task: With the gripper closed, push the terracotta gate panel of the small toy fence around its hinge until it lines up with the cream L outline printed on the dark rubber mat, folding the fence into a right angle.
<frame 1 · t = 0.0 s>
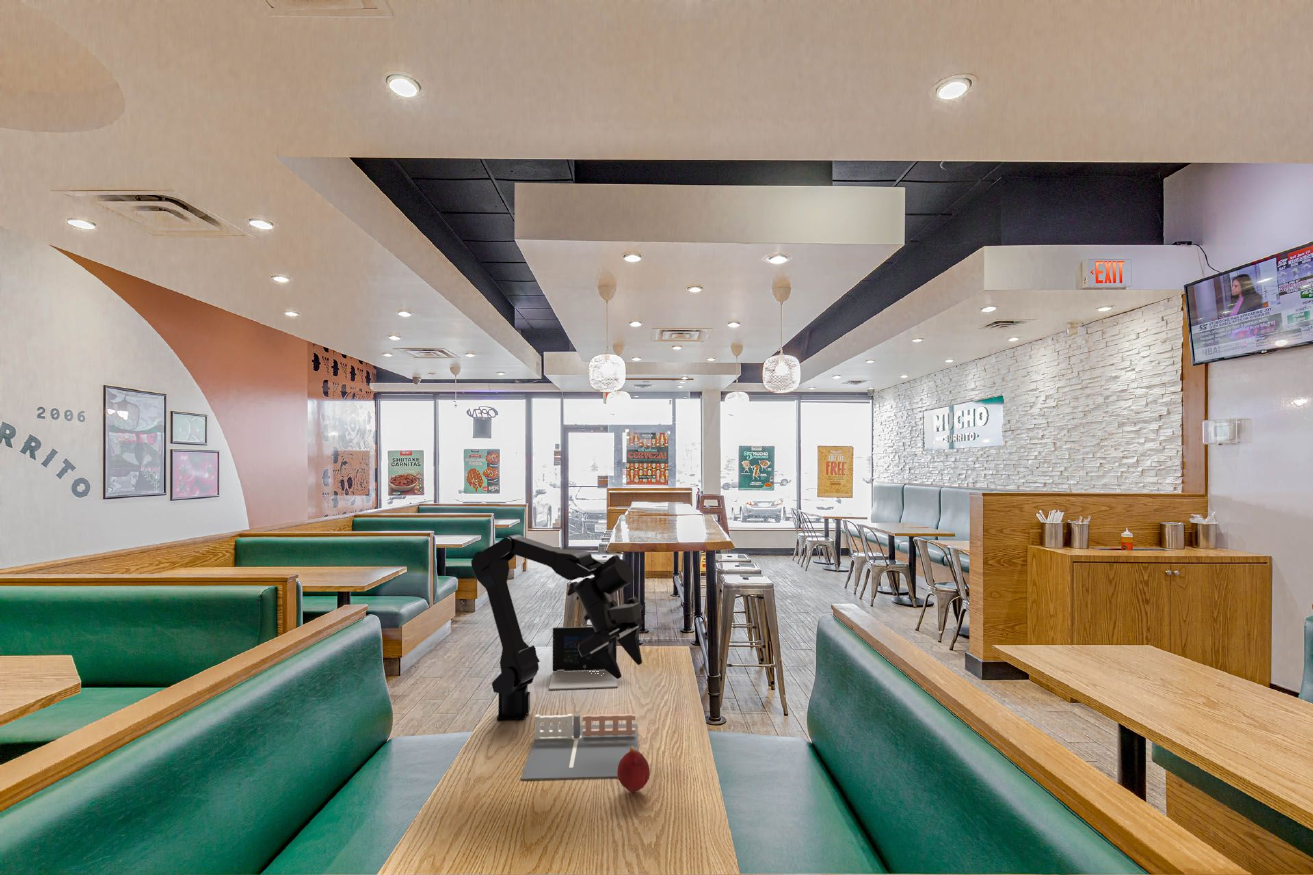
hand: (630, 670, 126), 15 cm above the table, tool tilted 35°, fingers open, 9 cm apart
laptop: (584, 682, 161), on the table
fence gate: (604, 725, 127), point 3 cm above the table, hinge at 0.0°
onion: (633, 793, 107), on the table
layout mat: (584, 749, 122), on the table
fence fixed: (554, 737, 127), resting on layout mat
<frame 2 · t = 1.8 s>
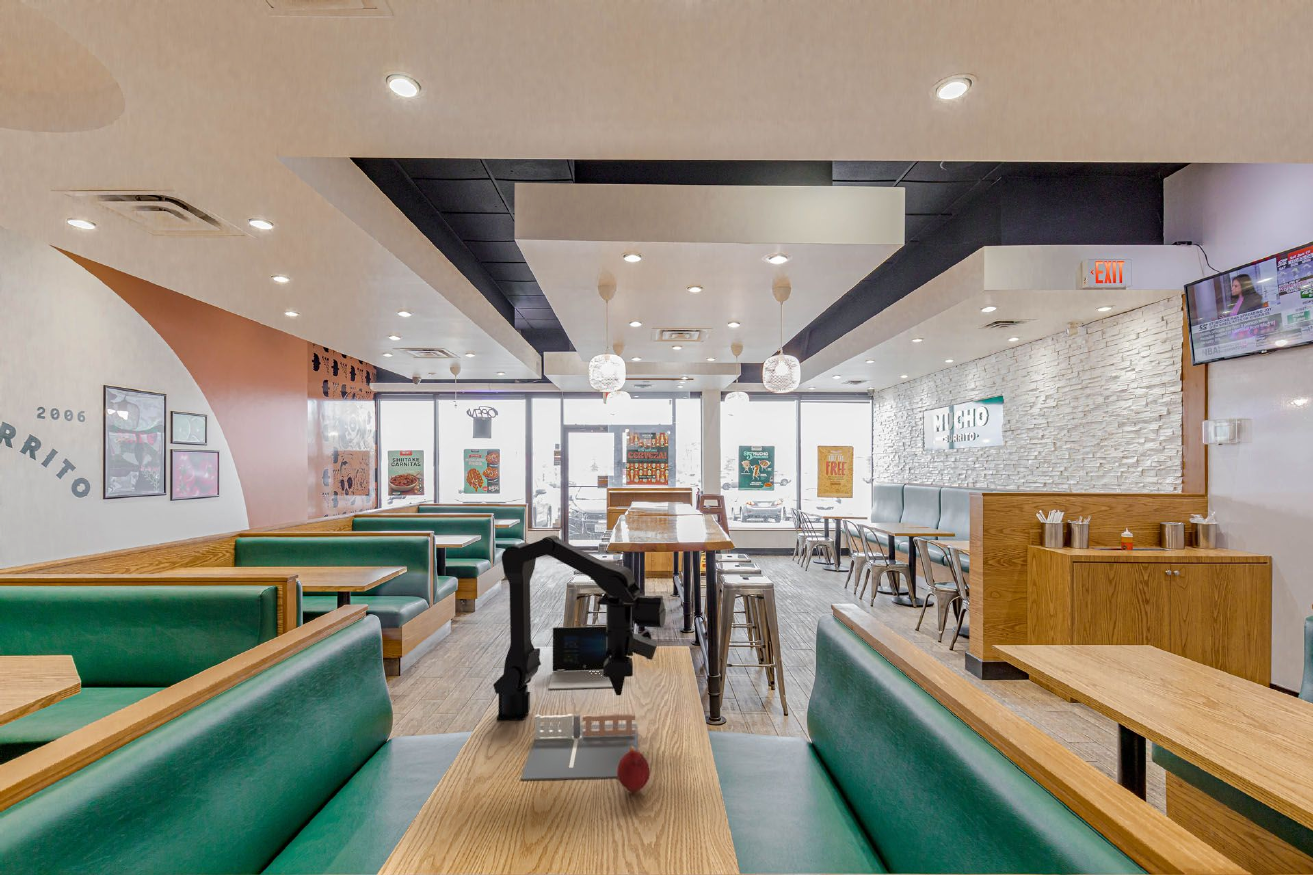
hand: (618, 694, 133), 7 cm above the table, tool pointing down, fingers closed
nothing on the table moved.
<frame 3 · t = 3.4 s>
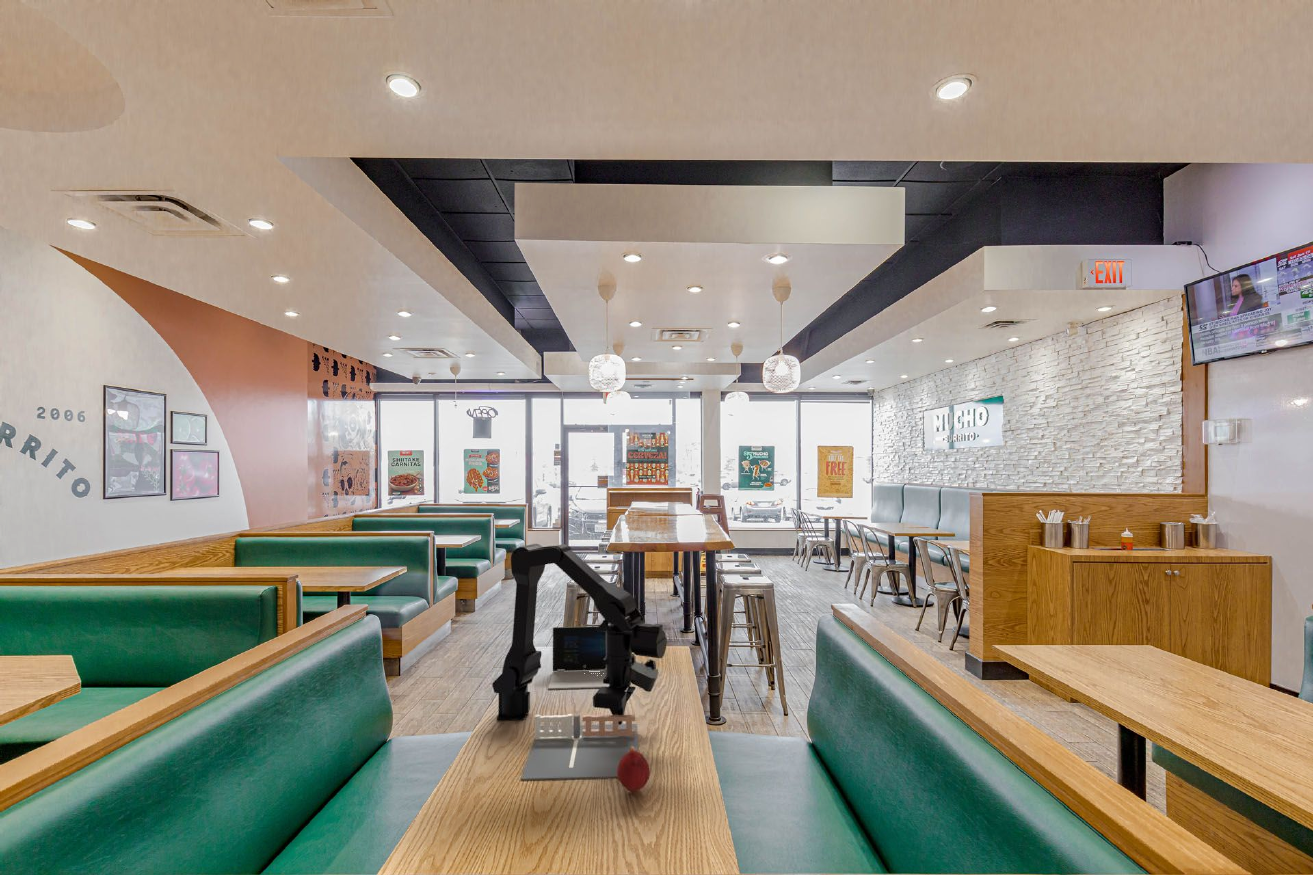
hand: (619, 724, 129), 2 cm above the table, tool pointing down, fingers closed
fence gate: (604, 725, 127), point 3 cm above the table, hinge at 2.3°, touching gripper
everything else where it was.
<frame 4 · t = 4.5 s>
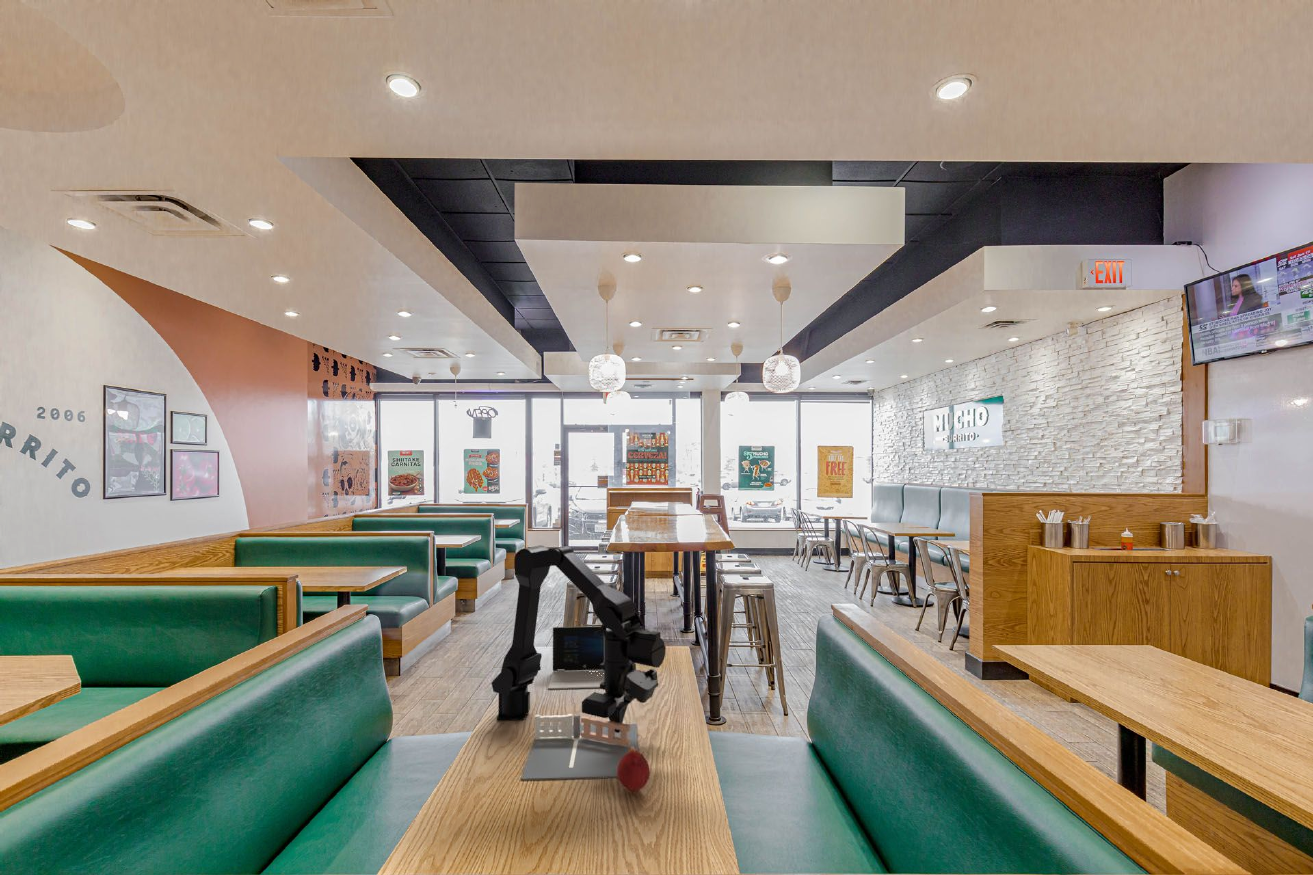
hand: (617, 731, 125), 2 cm above the table, tool pointing down, fingers closed
fence gate: (601, 730, 125), point 3 cm above the table, hinge at 25.3°, touching gripper
everything else where it was.
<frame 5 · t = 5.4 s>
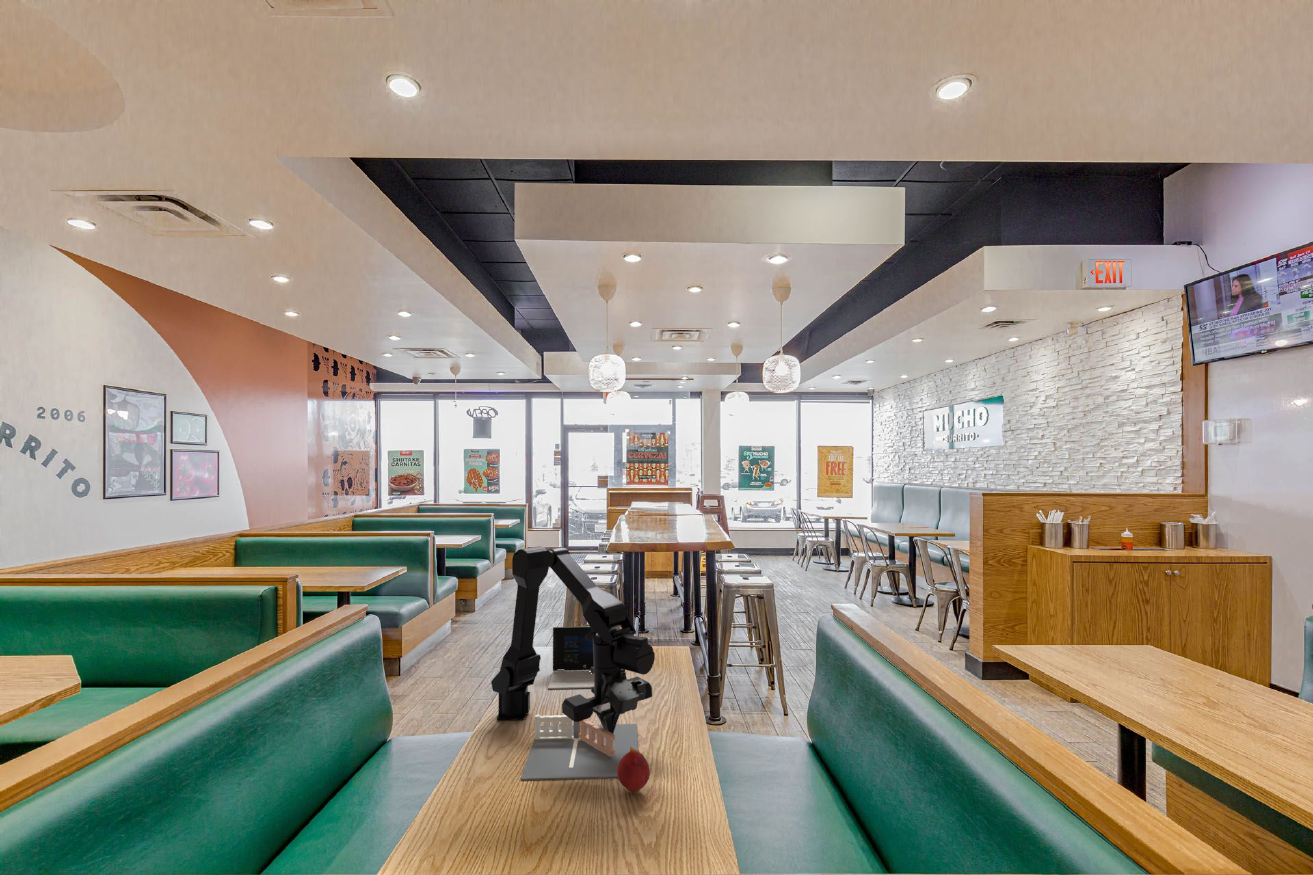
hand: (609, 739, 122), 2 cm above the table, tool pointing down, fingers closed
fence gate: (593, 735, 123), point 3 cm above the table, hinge at 49.9°, touching gripper
everything else where it was.
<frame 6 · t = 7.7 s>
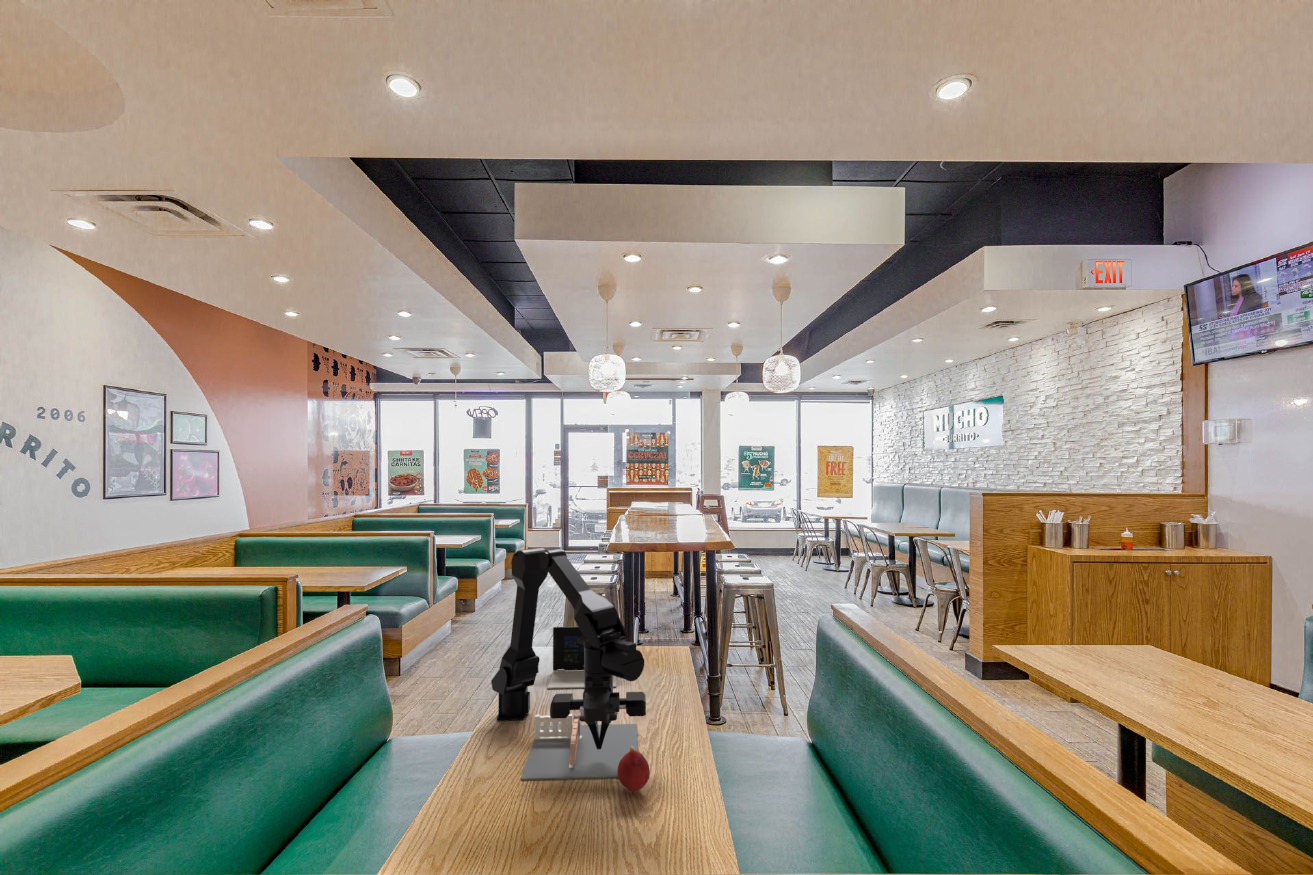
hand: (599, 748, 118), 2 cm above the table, tool pointing down, fingers closed
fence gate: (574, 738, 121), point 3 cm above the table, hinge at 88.7°
everything else where it was.
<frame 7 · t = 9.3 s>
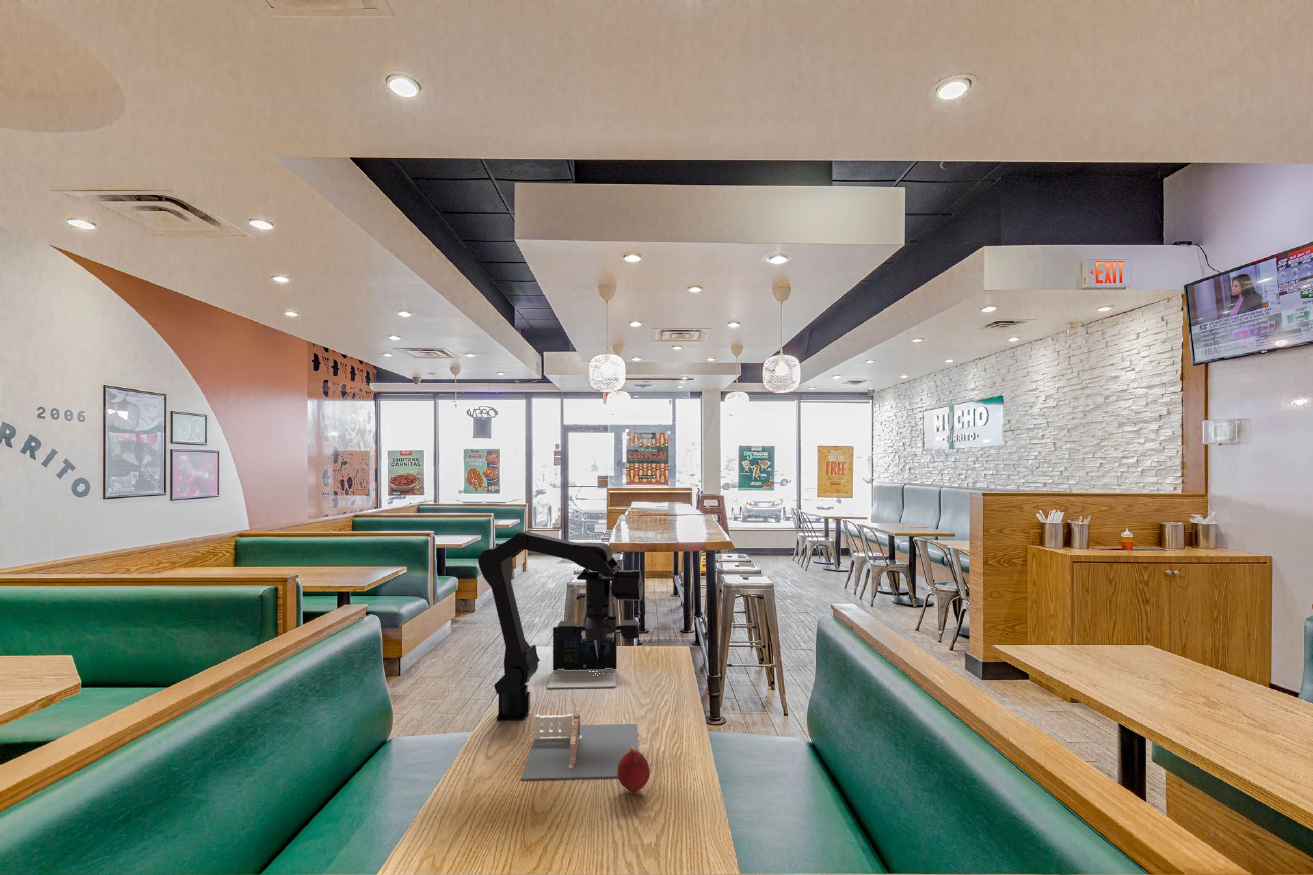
hand: (597, 667, 136), 12 cm above the table, tool pointing down, fingers closed
nothing on the table moved.
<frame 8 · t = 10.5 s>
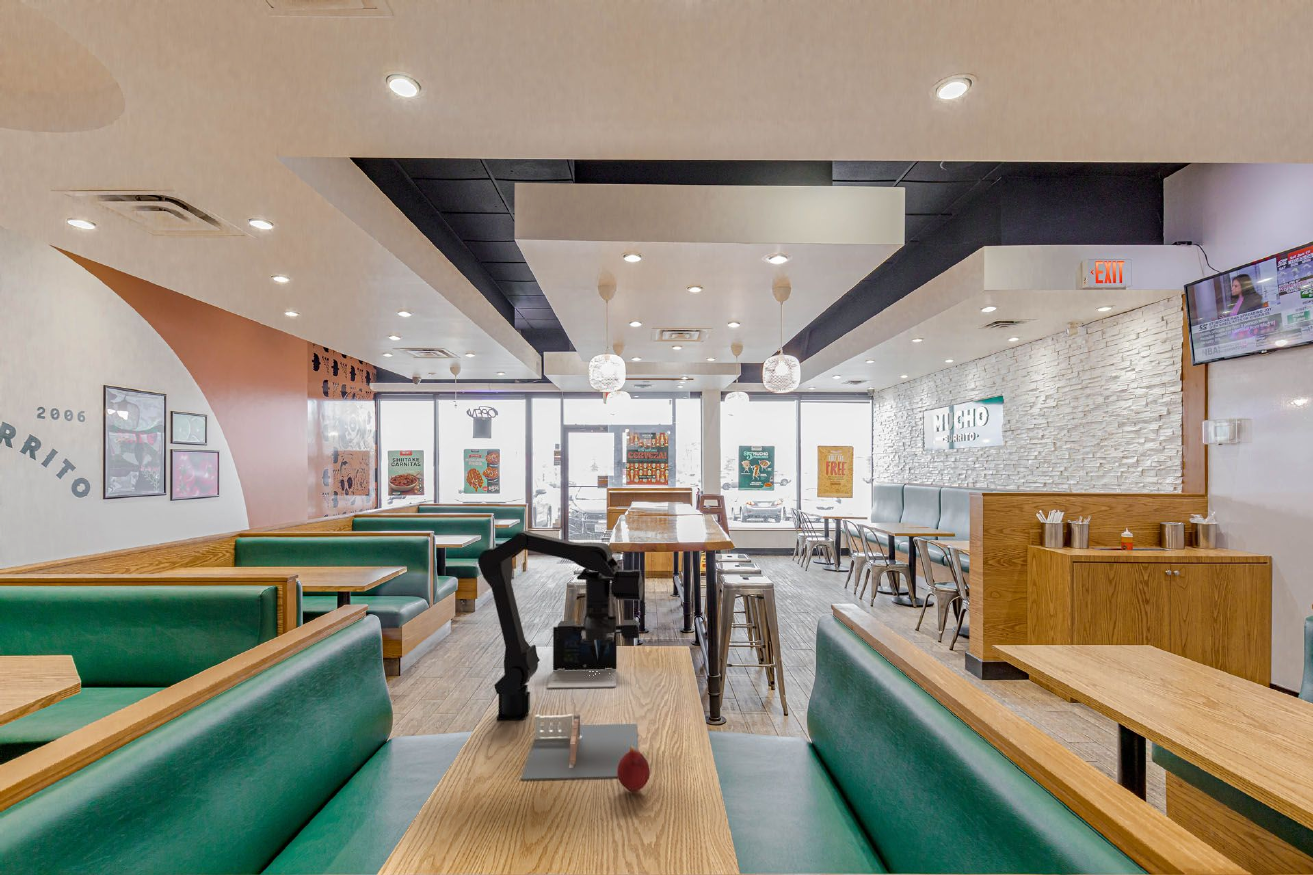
hand: (597, 667, 137), 12 cm above the table, tool pointing down, fingers closed
nothing on the table moved.
at the end: fence gate at +89° (first picture: +0°); onion moved 0.2 cm from its start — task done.
